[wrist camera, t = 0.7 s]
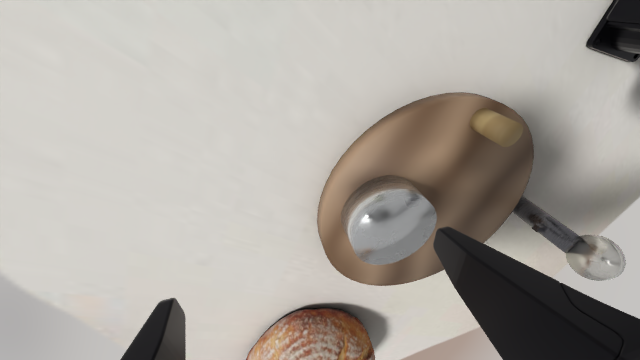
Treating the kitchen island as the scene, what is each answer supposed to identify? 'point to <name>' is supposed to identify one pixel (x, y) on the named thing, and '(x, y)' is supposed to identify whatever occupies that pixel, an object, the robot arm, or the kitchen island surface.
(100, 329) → the kitchen island surface
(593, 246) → the ice cream scoop
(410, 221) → the cover
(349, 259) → the disc
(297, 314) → the bread
